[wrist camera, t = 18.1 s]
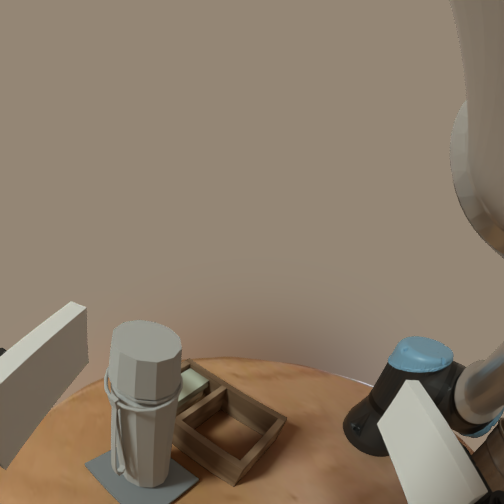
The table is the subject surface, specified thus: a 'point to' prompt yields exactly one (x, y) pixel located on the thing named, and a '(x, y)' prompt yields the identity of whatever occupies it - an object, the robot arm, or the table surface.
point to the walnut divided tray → (235, 406)
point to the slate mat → (132, 496)
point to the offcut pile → (191, 390)
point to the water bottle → (143, 399)
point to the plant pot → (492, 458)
